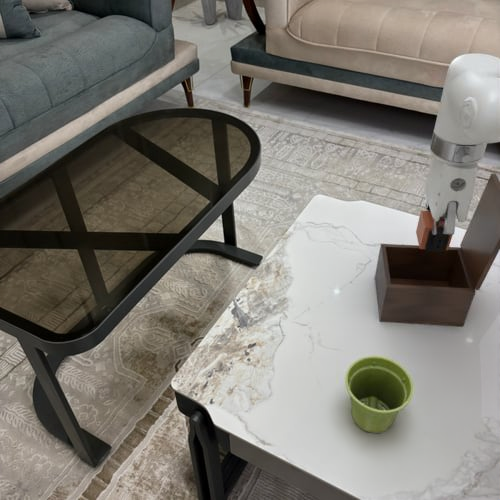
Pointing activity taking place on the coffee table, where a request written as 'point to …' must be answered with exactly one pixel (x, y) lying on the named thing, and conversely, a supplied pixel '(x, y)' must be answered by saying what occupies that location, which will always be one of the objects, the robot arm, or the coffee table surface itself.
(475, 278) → the lid
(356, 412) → the plant pot
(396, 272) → the chest
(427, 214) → the block
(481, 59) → the robot arm
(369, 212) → the coffee table surface
